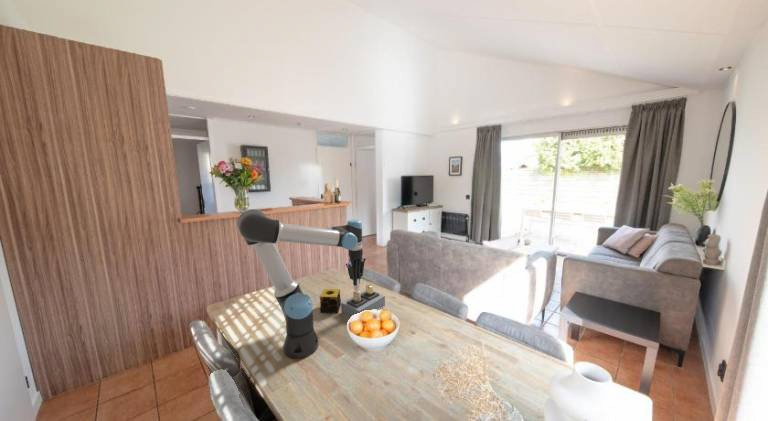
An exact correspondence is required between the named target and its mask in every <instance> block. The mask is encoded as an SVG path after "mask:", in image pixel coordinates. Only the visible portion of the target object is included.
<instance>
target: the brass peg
mask: <svg viewBox="0 0 768 421" xmlns="http://www.w3.org/2000/svg"><path fill="white" fill-rule="evenodd" d="M365 290H366V296H368V297H371V296H373V291H374V285H373V284H366V285H365Z"/></svg>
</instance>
